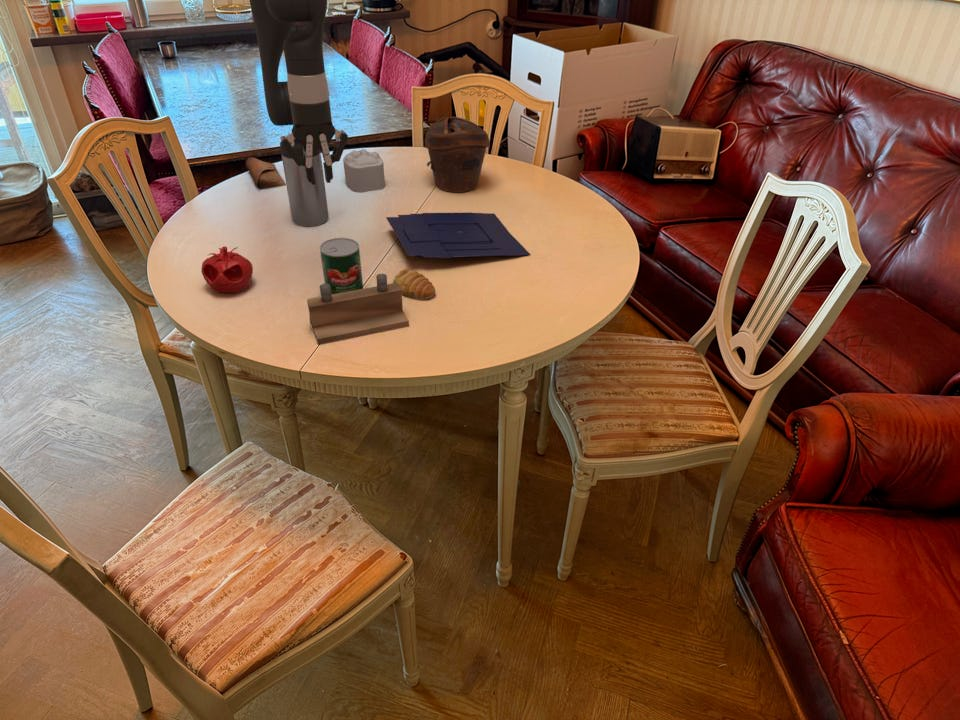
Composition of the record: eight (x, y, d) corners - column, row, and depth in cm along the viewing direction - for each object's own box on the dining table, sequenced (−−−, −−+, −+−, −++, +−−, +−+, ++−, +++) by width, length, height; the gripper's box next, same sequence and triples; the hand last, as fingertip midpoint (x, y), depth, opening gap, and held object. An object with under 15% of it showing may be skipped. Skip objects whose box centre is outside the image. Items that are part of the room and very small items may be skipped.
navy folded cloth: (383, 224, 156) (384, 210, 154) (492, 222, 167) (494, 209, 165) (408, 270, 138) (410, 255, 136) (529, 265, 150) (532, 251, 147)
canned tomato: (350, 279, 137) (345, 233, 130) (371, 293, 132) (367, 247, 126) (318, 291, 132) (312, 245, 126) (339, 306, 128) (333, 259, 121)
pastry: (442, 292, 134) (442, 277, 132) (422, 306, 130) (421, 290, 127) (410, 278, 138) (409, 263, 136) (389, 291, 134) (388, 275, 132)
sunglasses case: (288, 185, 176) (272, 167, 171) (269, 200, 176) (252, 183, 171) (274, 163, 188) (259, 146, 184) (256, 178, 188) (240, 161, 184)
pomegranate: (216, 273, 137) (206, 234, 131) (262, 275, 137) (253, 236, 131) (199, 297, 129) (188, 257, 124) (247, 299, 129) (238, 259, 123)
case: (447, 166, 191) (447, 106, 180) (501, 183, 183) (504, 121, 172) (409, 184, 180) (407, 120, 169) (464, 202, 171) (466, 137, 160)
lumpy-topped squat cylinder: (353, 194, 173) (350, 163, 168) (340, 177, 182) (337, 147, 177) (388, 188, 177) (386, 158, 172) (374, 172, 186) (372, 143, 181)
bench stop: (310, 322, 123) (303, 282, 118) (397, 305, 129) (395, 267, 124) (318, 344, 118) (311, 304, 112) (409, 325, 123) (407, 286, 118)
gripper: (340, 88, 125) (348, 172, 136) (269, 94, 121) (283, 180, 131) (349, 99, 120) (357, 185, 130) (275, 104, 115) (289, 193, 126)
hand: (320, 182), depth 131 cm, fingers closed
